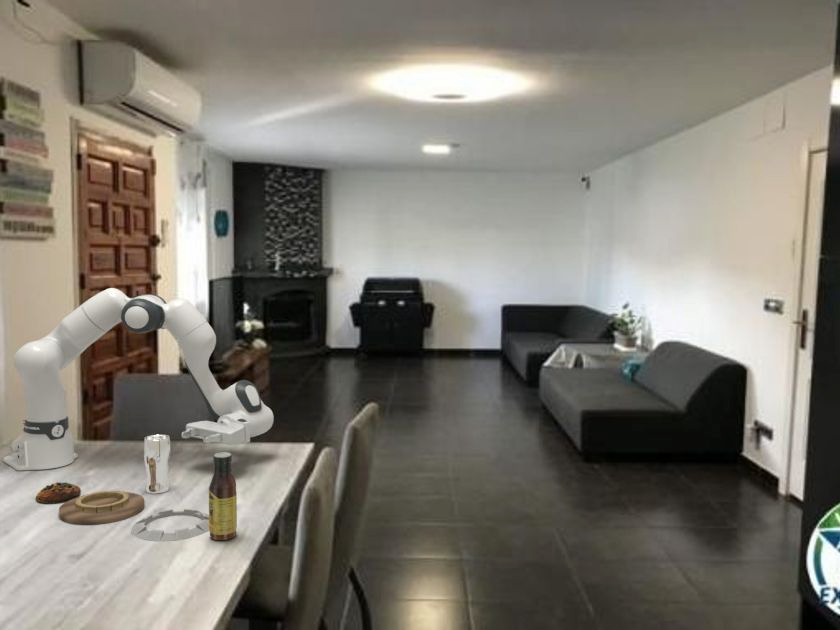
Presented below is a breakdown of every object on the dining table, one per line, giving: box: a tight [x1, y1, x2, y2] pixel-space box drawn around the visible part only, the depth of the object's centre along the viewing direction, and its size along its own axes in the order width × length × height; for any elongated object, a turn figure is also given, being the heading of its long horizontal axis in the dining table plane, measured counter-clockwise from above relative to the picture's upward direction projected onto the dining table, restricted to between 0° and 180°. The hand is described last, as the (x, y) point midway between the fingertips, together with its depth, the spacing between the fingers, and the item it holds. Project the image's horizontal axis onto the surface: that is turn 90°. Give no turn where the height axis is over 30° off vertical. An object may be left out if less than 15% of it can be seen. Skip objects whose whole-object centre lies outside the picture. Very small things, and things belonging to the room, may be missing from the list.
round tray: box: [58, 490, 146, 526], centre depth 182 cm, size 20×20×3 cm
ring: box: [130, 508, 210, 542], centre depth 173 cm, size 19×19×2 cm
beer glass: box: [143, 434, 172, 495], centre depth 198 cm, size 7×7×15 cm
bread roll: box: [35, 481, 82, 505], centre depth 192 cm, size 11×11×5 cm
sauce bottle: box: [208, 451, 238, 541], centre depth 166 cm, size 6×6×20 cm
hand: (193, 437), depth 208 cm, fingers open, 8 cm apart
